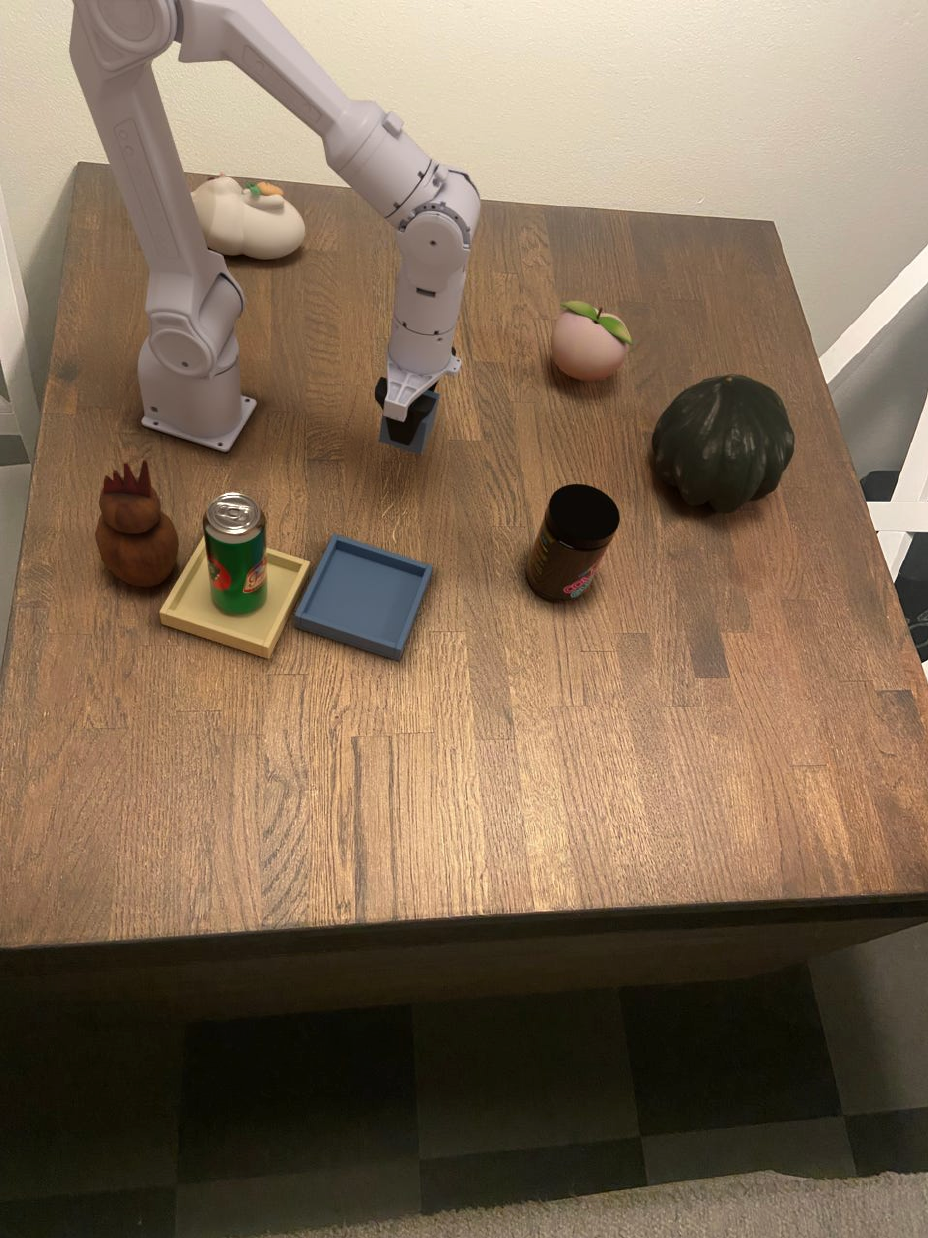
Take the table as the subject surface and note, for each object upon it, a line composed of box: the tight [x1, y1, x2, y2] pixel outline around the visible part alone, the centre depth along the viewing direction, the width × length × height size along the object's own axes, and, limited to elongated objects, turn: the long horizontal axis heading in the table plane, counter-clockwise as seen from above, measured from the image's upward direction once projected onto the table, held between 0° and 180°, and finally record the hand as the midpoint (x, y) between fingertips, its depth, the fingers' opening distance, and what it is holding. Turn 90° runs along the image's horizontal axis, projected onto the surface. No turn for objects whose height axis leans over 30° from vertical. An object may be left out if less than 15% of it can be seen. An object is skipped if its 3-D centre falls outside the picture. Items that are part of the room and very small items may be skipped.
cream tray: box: [158, 535, 311, 660], centre depth 84 cm, size 10×10×2 cm
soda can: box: [202, 492, 268, 615], centre depth 80 cm, size 5×5×12 cm
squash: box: [651, 373, 796, 514], centre depth 99 cm, size 14×15×15 cm
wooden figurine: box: [94, 459, 180, 588], centre depth 79 cm, size 7×6×15 cm
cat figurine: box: [190, 171, 306, 261], centre depth 109 cm, size 10×8×15 cm
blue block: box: [378, 390, 441, 456], centre depth 91 cm, size 4×4×4 cm
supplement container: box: [525, 483, 621, 603], centre depth 88 cm, size 7×7×10 cm
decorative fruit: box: [550, 300, 633, 383], centre depth 105 cm, size 9×8×10 cm
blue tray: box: [293, 533, 434, 662], centre depth 86 cm, size 10×10×2 cm
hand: (407, 424), depth 92 cm, fingers closed on blue block, 4 cm apart
